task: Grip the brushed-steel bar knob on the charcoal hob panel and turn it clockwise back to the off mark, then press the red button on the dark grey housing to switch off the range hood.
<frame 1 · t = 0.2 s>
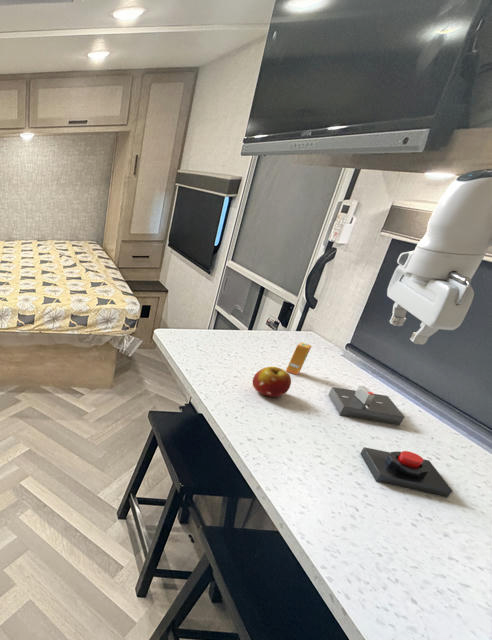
hand: (405, 333, 80), 33 cm above the worktop, tool pointing down, fingers open, 8 cm apart
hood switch: (400, 474, 90), on the worktop
fruit: (267, 393, 120), on the worktop
hob panel: (361, 409, 112), on the worktop
stove knob: (364, 394, 110), point 5 cm above the worktop, hinge at 100.0°
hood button: (410, 459, 88), point 5 cm above the worktop, slide at 0.2 cm
supplement box: (292, 372, 131), on the worktop
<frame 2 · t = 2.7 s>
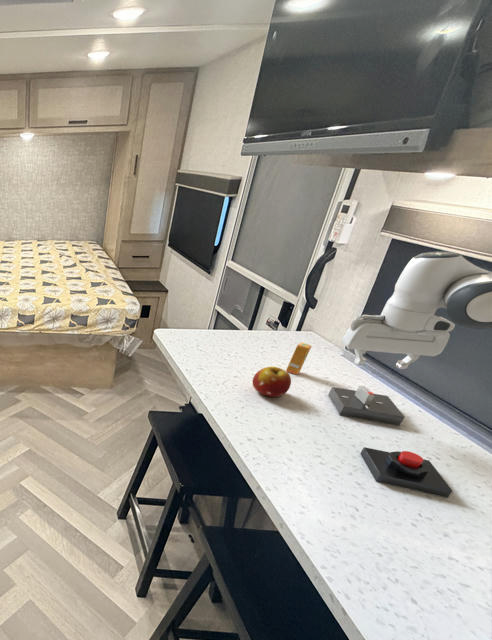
hand: (379, 365, 105), 14 cm above the worktop, tool pointing down, fingers open, 8 cm apart
nothing on the worktop moved.
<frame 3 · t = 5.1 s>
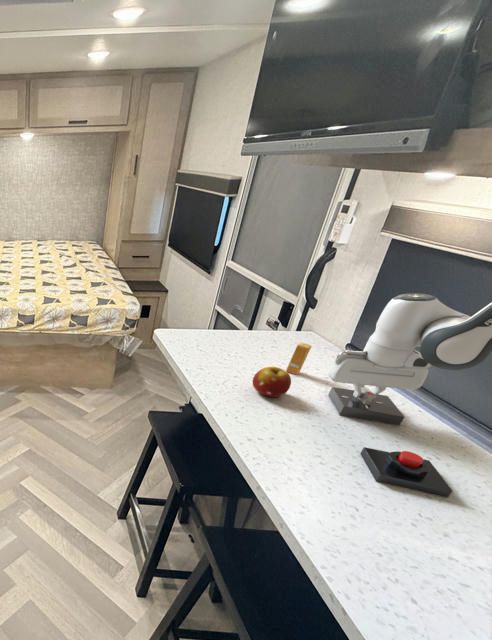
hand: (363, 397, 111), 4 cm above the worktop, tool pointing down, fingers closed on stove knob
stove knob: (364, 394, 110), point 5 cm above the worktop, hinge at 99.9°, touching gripper
everything else where it was.
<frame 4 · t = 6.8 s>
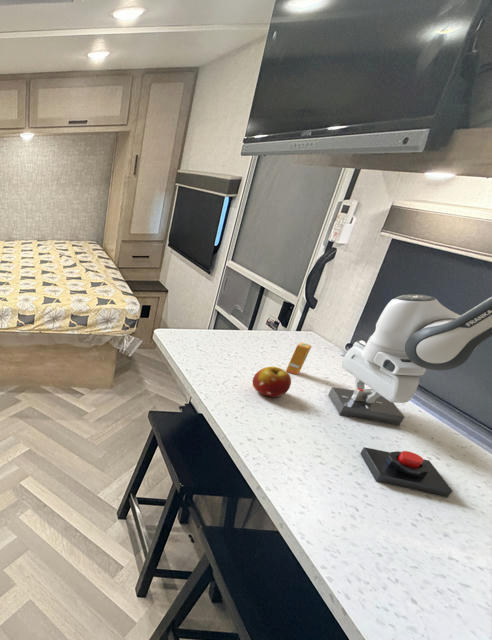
hand: (363, 398, 111), 4 cm above the worktop, tool pointing down, fingers closed
stove knob: (364, 394, 110), point 5 cm above the worktop, hinge at 17.5°
everything else where it was.
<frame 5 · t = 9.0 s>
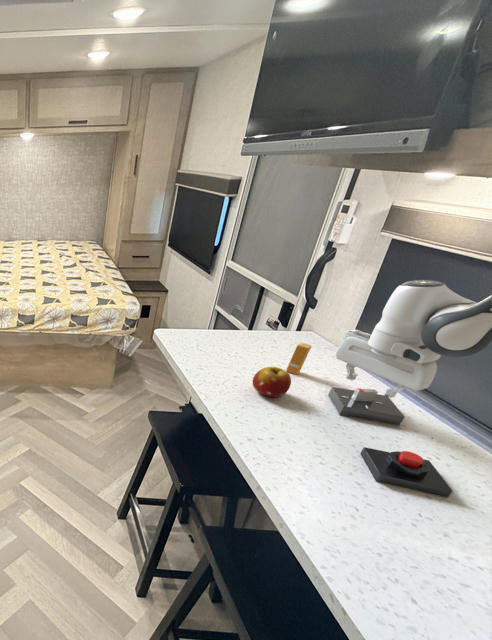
hand: (369, 387, 109), 7 cm above the worktop, tool pointing down, fingers open, 8 cm apart
nothing on the worktop moved.
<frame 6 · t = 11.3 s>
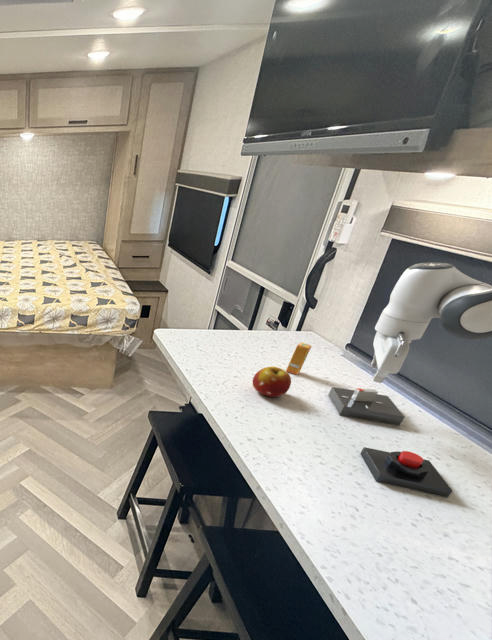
hand: (375, 373, 107), 12 cm above the worktop, tool pointing down, fingers open, 8 cm apart
nothing on the worktop moved.
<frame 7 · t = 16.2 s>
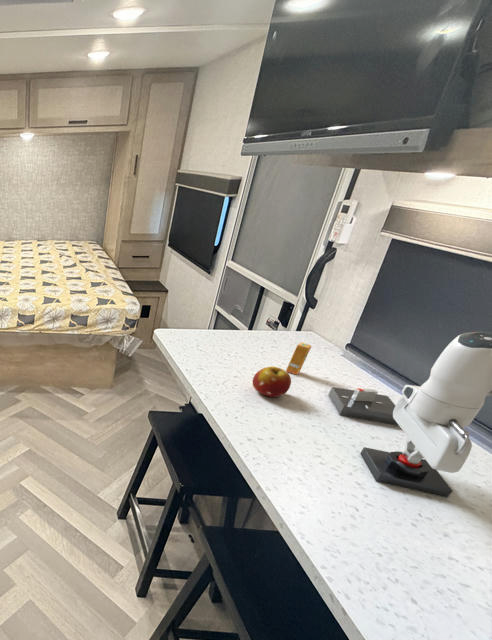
hand: (409, 459, 88), 5 cm above the worktop, tool pointing down, fingers closed, pressing on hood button
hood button: (408, 462, 88), point 4 cm above the worktop, slide at -0.8 cm, touching gripper
everything else where it was.
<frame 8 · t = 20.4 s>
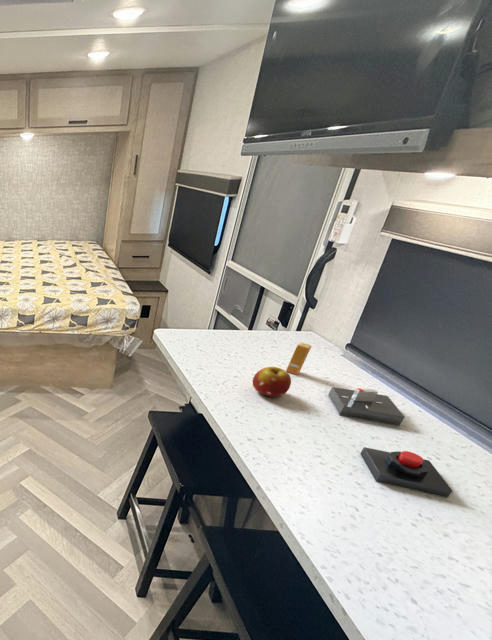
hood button: (410, 459, 88), point 5 cm above the worktop, slide at 0.1 cm
everything else where it was.
at the end: stove knob at +18° (first picture: +100°); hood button pushed in 1.0 cm at the most during the clip, back to where it started at the end; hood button slide at 0.1 cm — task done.
